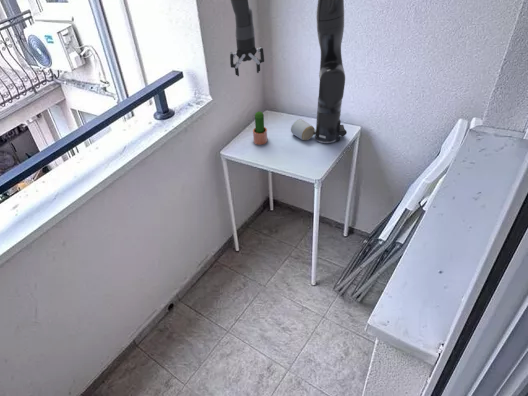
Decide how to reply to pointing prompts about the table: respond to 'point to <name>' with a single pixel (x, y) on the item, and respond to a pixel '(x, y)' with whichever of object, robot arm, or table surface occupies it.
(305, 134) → the ceramic mug
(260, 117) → the cucumber
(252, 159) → the table surface
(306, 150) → the table surface
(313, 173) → the table surface
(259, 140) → the cup
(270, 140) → the table surface
